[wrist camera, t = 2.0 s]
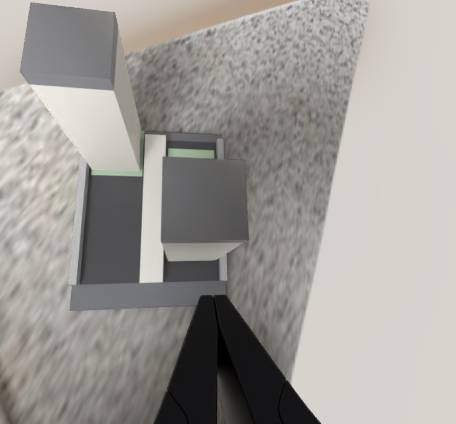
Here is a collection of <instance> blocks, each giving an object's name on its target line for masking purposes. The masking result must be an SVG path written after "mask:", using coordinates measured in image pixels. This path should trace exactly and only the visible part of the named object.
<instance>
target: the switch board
mask: <svg viewBox="0 0 456 424" xmlns="http://www.w3.org/2000/svg"><path fill="white" fill-rule="evenodd" d="M141 131H142V134H141V158H140V172H131V171H99V170H92V169H91V167H90V166H89V165H88V163H87V162H86V161H85V159H84V158H83V157H82V155H81V154H80V163H79V174H78V184H77V195H76V206H75V217H74V228H73V238H72V249H71V260H70V271H69V282H68V285H72V292H71V303H70V311H79V310H102V309H126V308H149V307H173V306H196V305H197V303H198V300H199V297H200V296H201V295H212V296H213V295H216V294H225V295H226V280H227V253H226V254H225V255H223V256H222V257H220V258H218V259H217V260H215V261H168V259H167V256H166V254H165V251H164V248H163V245H162V243H161V202H162V159H163V156H164V157H188V158H213V159H224V143H223V139H222V135H208V134H189V133H171V132H153V131H144V130H141Z"/></svg>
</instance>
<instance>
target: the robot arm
mask: <svg viewBox="0 0 456 424" xmlns="http://www.w3.org/2000/svg"><path fill="white" fill-rule="evenodd" d="M217 383H218V389H219V395H220V400H221V406H222V411H223V417H224V422H225V424H321V423H320V422H319V420H317V418H316V417H315V416H314V415H313V413H312V412H311V411H310V410H309V409H308V407H307V406H306V405H305V403H304V402H303V401H302V400H301V398H300V397H299V395H298V394H297V393H296V392H295V390H294V389H293V387H292V386H291V384H290V383H289V382H288V381H287V380H286V378H285V376H284V375H283V374H282V372H281V371H280V369H279V368H278V367H277V365H276V364H275V362H274V361H273V360H272V358H271V357H270V355H269V354H268V353H267V351H266V350H265V348H264V347H263V346H262V344H261V343H260V342H259V340H258V339H257V337H256V336H255V335H254V333H253V332H252V330H251V329H250V328H249V326H248V325H247V323H246V322H245V321H244V319H243V318H242V317H241V315H240V314H239V312H238V311H237V310H236V308H235V307H234V305H233V304H232V303H231V301H230V300H229V298H228V297H227V296H226V295H225V294H216V295H213V296H212V295H201V296H200V297H199V300H198V303H197V306H196V308H195V311H194V314H193V317H192V320H191V322H190V325H189V328H188V331H187V333H186V336H185V339H184V342H183V345H182V347H181V350H180V353H179V356H178V359H177V361H176V364H175V367H174V370H173V373H172V375H171V378H170V381H169V384H168V387H167V391H166V392H165V394H164V397H163V400H162V403H161V405H160V408H159V411H158V413H157V416H156V418H155V421H154V423H153V424H217Z"/></svg>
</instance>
